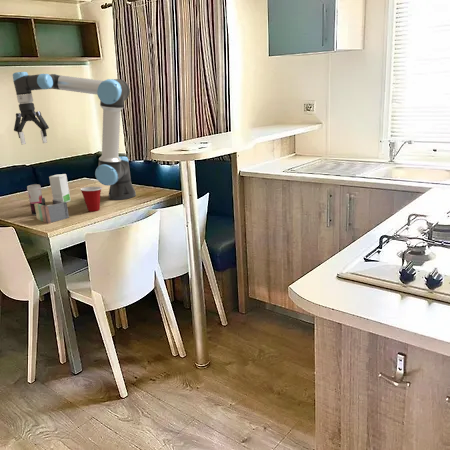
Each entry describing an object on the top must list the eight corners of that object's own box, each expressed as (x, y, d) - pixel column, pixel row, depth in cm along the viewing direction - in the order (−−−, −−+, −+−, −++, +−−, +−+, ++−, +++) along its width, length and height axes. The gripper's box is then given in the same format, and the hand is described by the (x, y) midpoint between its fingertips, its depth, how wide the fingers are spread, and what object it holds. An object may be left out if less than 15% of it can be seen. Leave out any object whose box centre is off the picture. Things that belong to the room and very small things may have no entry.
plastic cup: (109, 209, 247) (106, 186, 243) (91, 214, 239) (87, 191, 236) (97, 206, 254) (94, 184, 250) (79, 211, 246) (75, 188, 243)
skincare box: (63, 204, 263) (58, 176, 259) (52, 204, 265) (48, 177, 260) (71, 200, 271) (66, 173, 267) (60, 200, 273) (56, 173, 268)
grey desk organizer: (37, 219, 236) (34, 203, 234) (57, 214, 244) (55, 199, 241) (47, 223, 228) (45, 207, 226) (69, 217, 235) (66, 202, 233)
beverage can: (47, 213, 246) (42, 185, 242) (34, 216, 242) (29, 187, 238) (42, 211, 251) (37, 183, 247) (30, 214, 247) (24, 186, 243)
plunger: (38, 216, 239) (34, 196, 236) (49, 213, 243) (46, 193, 240) (47, 219, 232) (43, 199, 229) (58, 216, 236) (55, 196, 233)
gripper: (1, 105, 249) (10, 145, 255) (41, 101, 242) (49, 143, 248) (10, 104, 256) (19, 143, 262) (50, 100, 249) (58, 141, 255)
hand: (34, 143), depth 255 cm, fingers open, 13 cm apart
